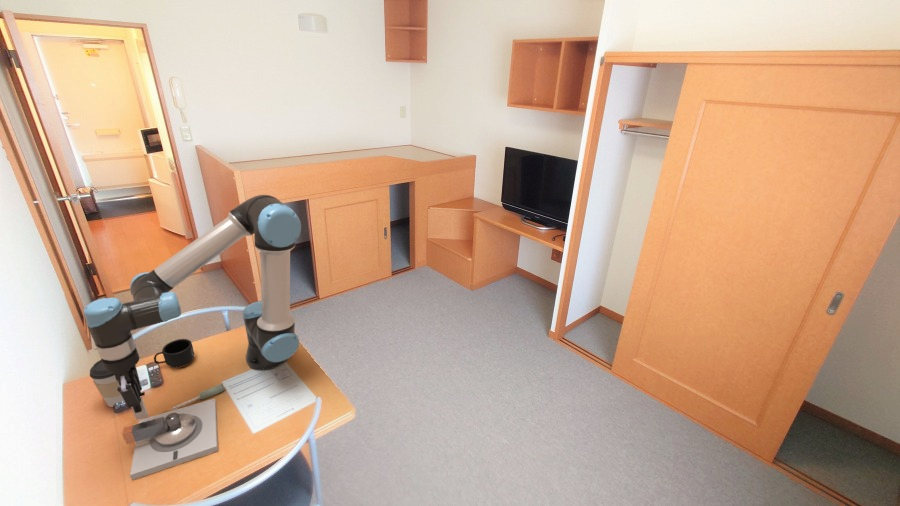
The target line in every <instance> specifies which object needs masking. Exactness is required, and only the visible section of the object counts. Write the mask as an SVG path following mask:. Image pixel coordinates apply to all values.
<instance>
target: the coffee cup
mask: <svg viewBox="0 0 900 506" xmlns="http://www.w3.org/2000/svg"><path fill="white" fill-rule="evenodd" d="M115 374H116V373H111V372H107V371H106V370H105V368H104V366H103V363H102V361H101V359H100V360H98V361H97V362H95V363H94V364H93V366H91V368H90V370H89V377H90V378H91V379H92V381H93V383H94V385H95V387H96V389H97V390H98V392H99V393H100V396H102V398H103V399H104V401H105V403H106V405H107V406H108V407H110V408H111V407H112V408H114V407H113V405H114V404H115V403H117V402H121V401H124V399H123V397H122V395H121V394H120V393H119V392H118V390H117V388H118V387H119V386H120V385H119V382H118V381H117V380H116V378H115Z"/></svg>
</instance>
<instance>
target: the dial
mask: <svg viewBox="0 0 900 506" xmlns="http://www.w3.org/2000/svg"><path fill="white" fill-rule="evenodd" d="M195 430H196V422H195V418H194V417H193V416H192V415H190V414H186V413H183V414H178V413H171V414H169V415H167V416H166V418H165V419H164V417H160V418H157V419H153V420H150V421H146V422H143V423H139V422H138V423H135V424H131V425H128V426H126V427H123V431H122V437H123V439H124V442H125V444H126V446H128V445H131V444H135V443H136V442H137V441H140V440H144V439H147V438H150V437H154V436H155V439H156V442H157V443H158V444H159V445H161V446H174V445H177V444H180V443H182V442H184V441H185V440H187V439H188V438H189V437H190V436H191V435H192V434H193V433H194V432H195Z"/></svg>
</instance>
